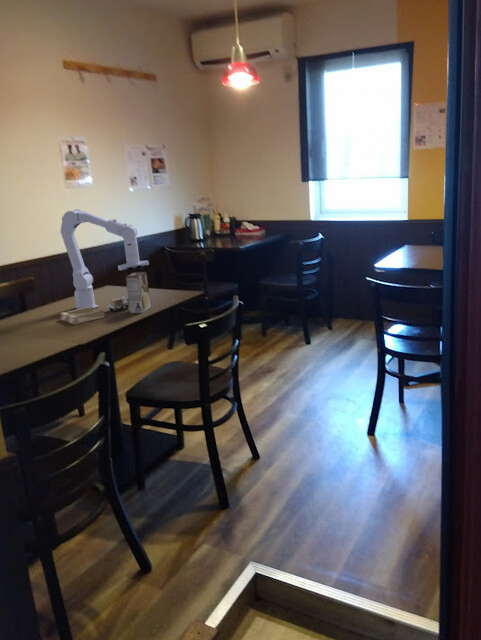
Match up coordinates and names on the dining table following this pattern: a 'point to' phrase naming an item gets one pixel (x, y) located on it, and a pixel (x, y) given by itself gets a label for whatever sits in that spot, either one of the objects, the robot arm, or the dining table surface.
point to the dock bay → (81, 315)
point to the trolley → (118, 303)
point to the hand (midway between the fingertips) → (136, 283)
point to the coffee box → (138, 292)
